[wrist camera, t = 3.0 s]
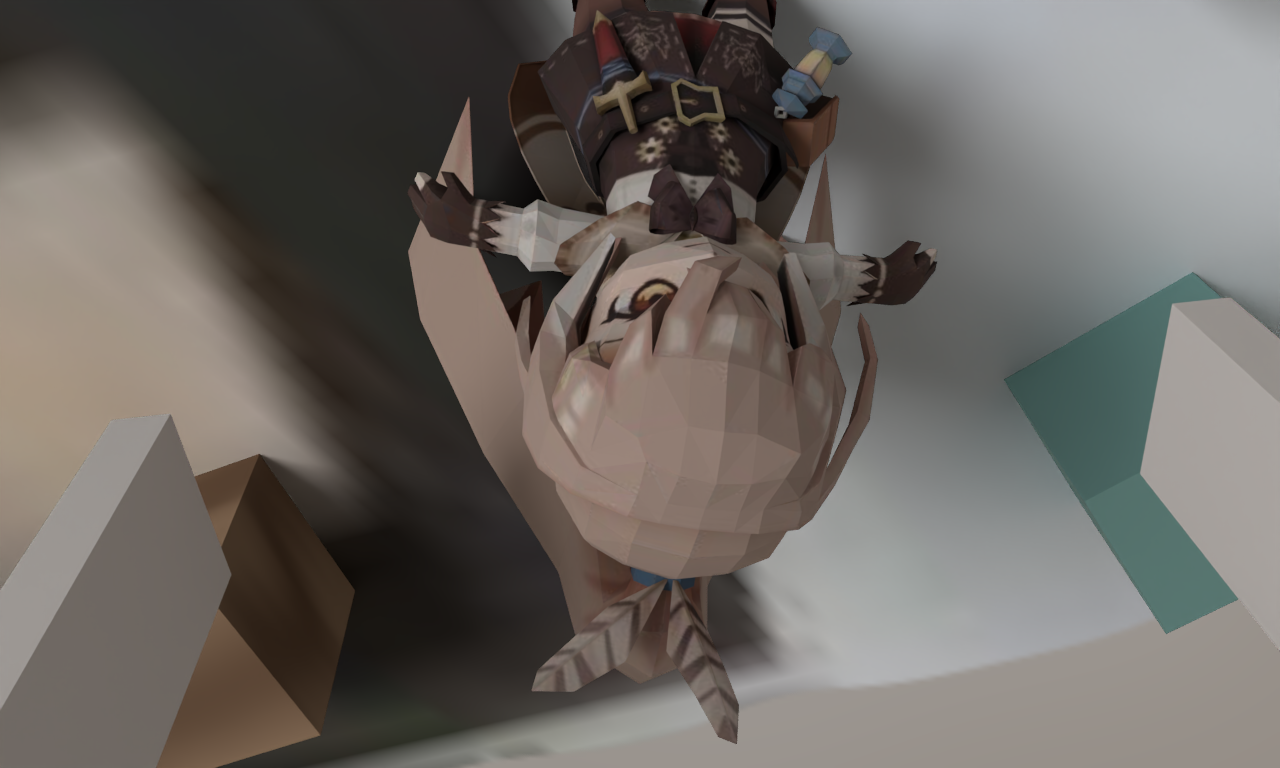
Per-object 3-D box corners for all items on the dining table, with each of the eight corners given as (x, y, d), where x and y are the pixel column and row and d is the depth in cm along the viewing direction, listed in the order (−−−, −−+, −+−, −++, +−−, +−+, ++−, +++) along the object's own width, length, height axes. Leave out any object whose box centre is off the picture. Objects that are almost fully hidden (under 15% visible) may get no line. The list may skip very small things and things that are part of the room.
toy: (930, -88, 20) (1199, 627, 11) (797, 243, 27) (888, 882, 17) (450, -183, 19) (253, 533, 9) (430, 189, 25) (300, 847, 16)
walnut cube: (87, 512, 28) (1, 657, 23) (260, 452, 27) (203, 590, 23) (195, 640, 30) (135, 791, 26) (355, 588, 30) (320, 735, 25)
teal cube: (1003, 378, 27) (1084, 501, 23) (1191, 270, 26) (1313, 380, 22) (1079, 501, 29) (1166, 633, 25) (1255, 408, 28) (1378, 532, 24)
